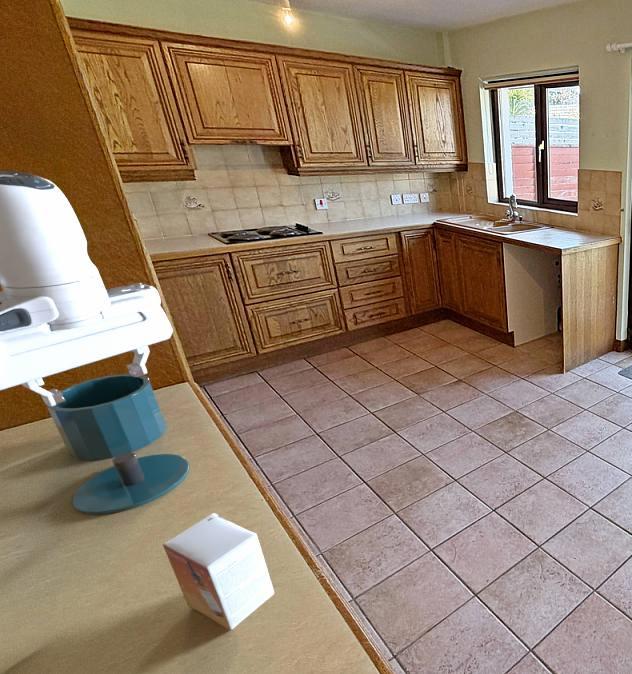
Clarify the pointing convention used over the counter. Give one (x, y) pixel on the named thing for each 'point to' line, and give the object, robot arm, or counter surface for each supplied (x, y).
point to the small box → (220, 570)
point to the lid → (130, 483)
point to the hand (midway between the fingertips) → (100, 388)
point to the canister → (108, 417)
